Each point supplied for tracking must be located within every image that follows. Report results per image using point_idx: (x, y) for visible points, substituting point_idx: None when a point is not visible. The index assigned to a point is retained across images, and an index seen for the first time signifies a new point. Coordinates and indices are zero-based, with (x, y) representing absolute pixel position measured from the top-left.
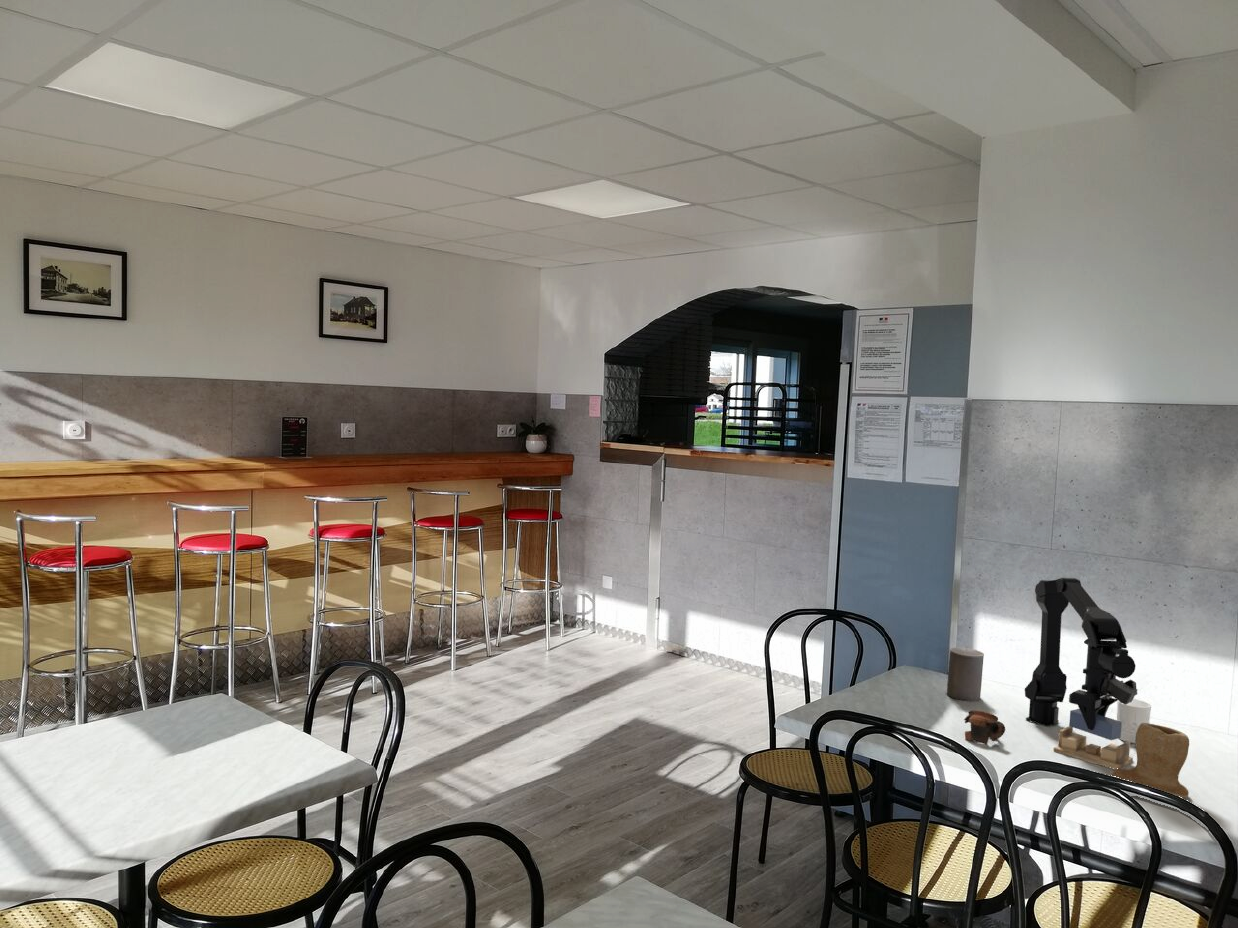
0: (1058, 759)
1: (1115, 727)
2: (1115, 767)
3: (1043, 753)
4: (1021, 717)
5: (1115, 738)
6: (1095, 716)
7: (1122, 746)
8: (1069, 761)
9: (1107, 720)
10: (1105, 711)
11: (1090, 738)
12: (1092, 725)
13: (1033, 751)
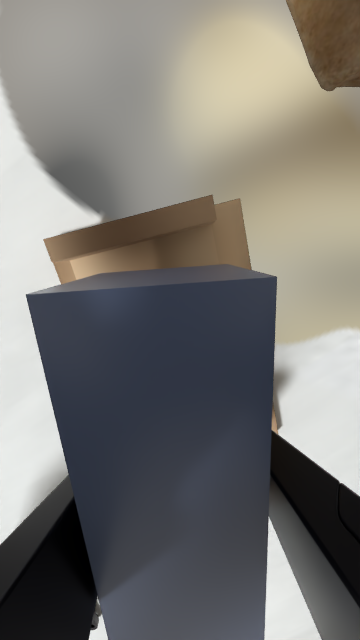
0: (344, 375)
1: (185, 276)
2: (240, 203)
3: (334, 431)
4: (91, 633)
5: (169, 268)
6: (346, 509)
7: (169, 208)
8: (326, 346)
9: (180, 406)
10: (8, 581)
11: (16, 468)
12: (273, 436)
13: (347, 454)
